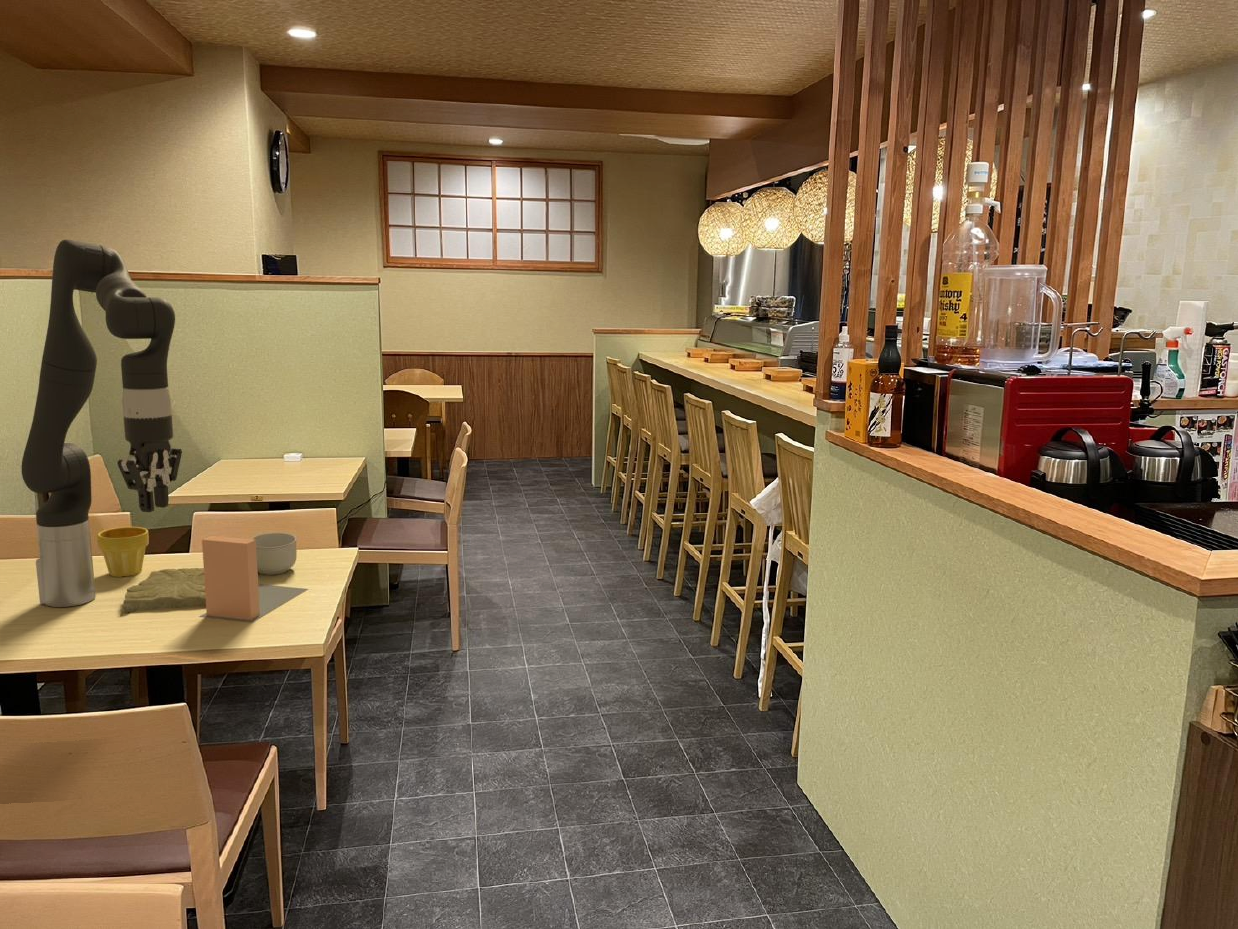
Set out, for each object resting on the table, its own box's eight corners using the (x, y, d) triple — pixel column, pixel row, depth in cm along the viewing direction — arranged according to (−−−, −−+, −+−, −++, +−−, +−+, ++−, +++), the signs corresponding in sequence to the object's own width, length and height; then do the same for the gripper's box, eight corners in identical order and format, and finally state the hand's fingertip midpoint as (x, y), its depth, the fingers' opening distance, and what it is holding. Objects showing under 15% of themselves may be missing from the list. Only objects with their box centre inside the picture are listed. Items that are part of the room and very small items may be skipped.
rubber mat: (199, 618, 180) (199, 616, 180) (260, 585, 200) (259, 584, 200) (252, 624, 178) (252, 622, 178) (308, 590, 198) (308, 589, 198)
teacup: (304, 564, 216) (303, 533, 215) (287, 579, 206) (286, 545, 204) (248, 562, 217) (246, 531, 215) (227, 577, 206) (225, 543, 204)
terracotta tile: (206, 615, 181) (201, 539, 178) (216, 610, 184) (211, 535, 181) (251, 620, 179) (246, 543, 176) (260, 614, 182) (256, 539, 179)
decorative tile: (231, 579, 206) (231, 564, 205) (217, 610, 187) (216, 593, 186) (142, 584, 201) (141, 569, 200) (118, 615, 182) (117, 599, 181)
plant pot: (161, 568, 210) (158, 528, 209) (127, 581, 201) (124, 540, 199) (124, 563, 213) (121, 524, 211) (89, 577, 203) (86, 535, 201)
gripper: (137, 420, 148) (145, 520, 151) (193, 409, 161) (199, 501, 165) (98, 417, 149) (106, 517, 153) (156, 407, 163) (163, 498, 166)
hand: (154, 508), depth 159 cm, fingers open, 3 cm apart
